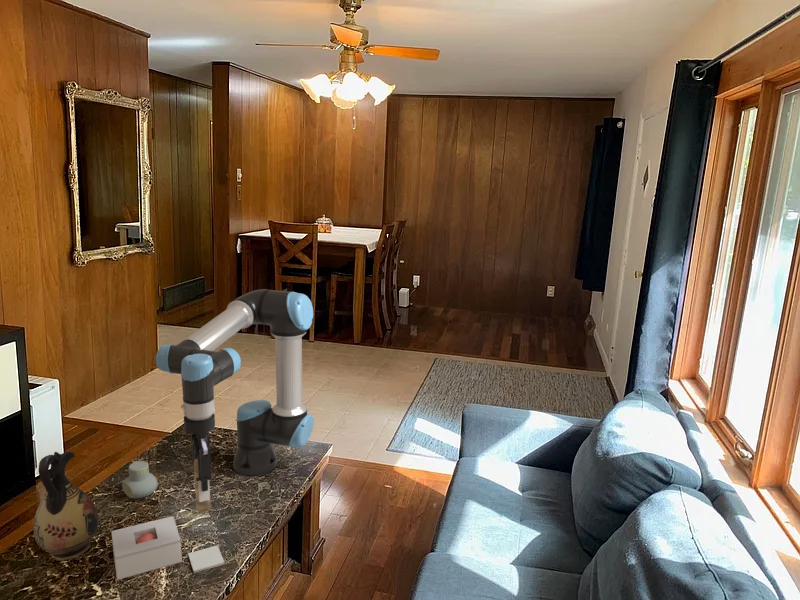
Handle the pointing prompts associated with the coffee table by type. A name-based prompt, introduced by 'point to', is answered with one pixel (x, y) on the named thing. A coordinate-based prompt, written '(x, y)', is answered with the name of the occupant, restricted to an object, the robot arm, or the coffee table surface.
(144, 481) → the air freshener
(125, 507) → the coffee table surface
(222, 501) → the coffee table surface
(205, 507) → the tan wooden rod
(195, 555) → the pad
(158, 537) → the box
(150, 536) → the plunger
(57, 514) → the ceramic jug
